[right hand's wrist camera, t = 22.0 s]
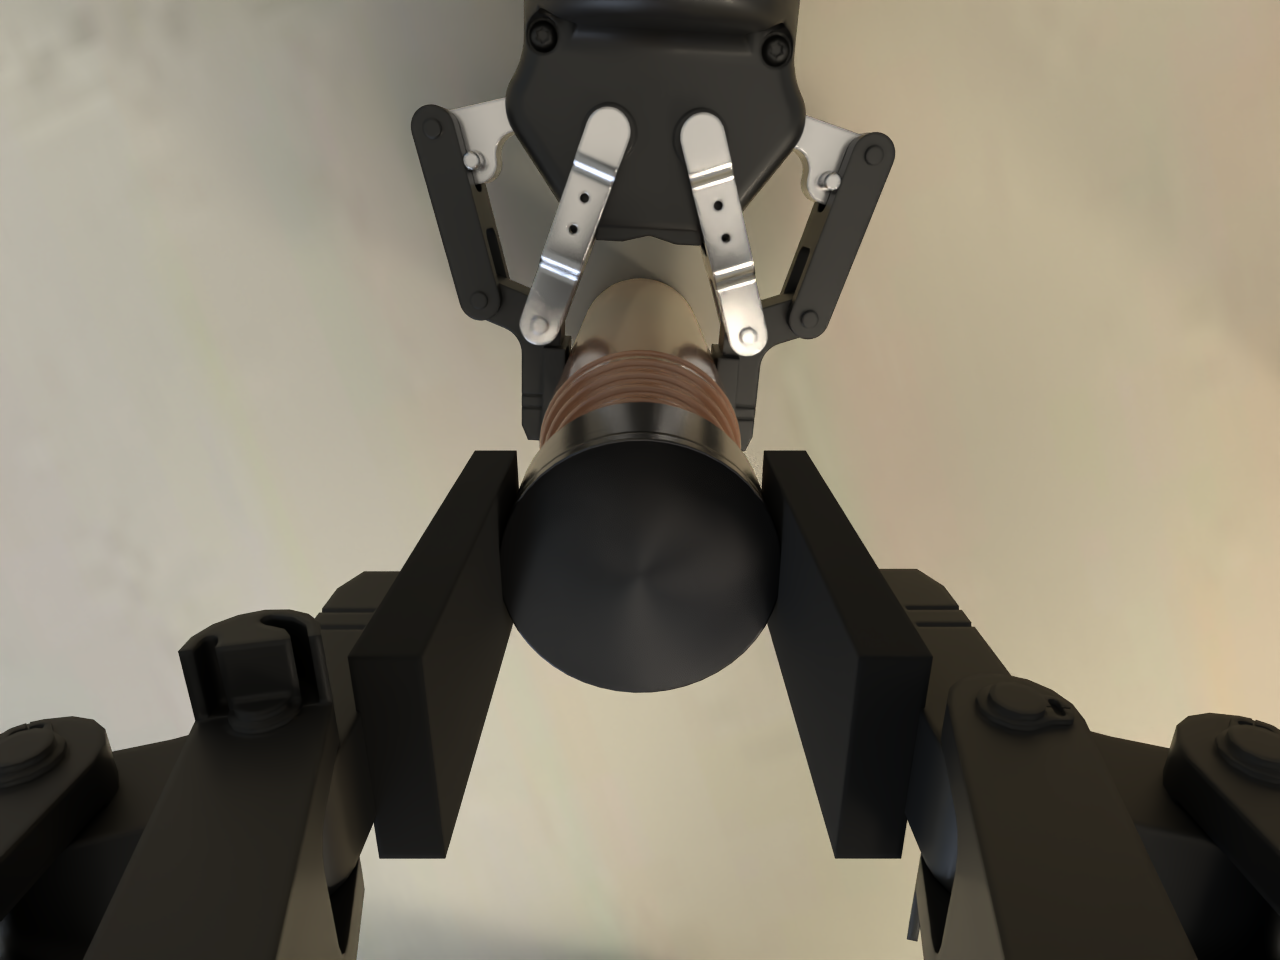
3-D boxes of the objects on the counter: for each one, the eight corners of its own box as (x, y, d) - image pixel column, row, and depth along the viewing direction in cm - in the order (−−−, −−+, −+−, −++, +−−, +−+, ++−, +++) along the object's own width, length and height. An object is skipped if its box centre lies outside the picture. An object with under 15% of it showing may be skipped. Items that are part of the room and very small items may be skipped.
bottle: (577, 387, 32) (493, 660, 14) (587, 271, 30) (506, 404, 12) (690, 400, 32) (755, 684, 14) (706, 285, 31) (804, 436, 12)
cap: (473, 552, 15) (446, 612, 13) (600, 350, 13) (593, 381, 11) (674, 663, 15) (679, 735, 13) (812, 485, 14) (841, 535, 12)
